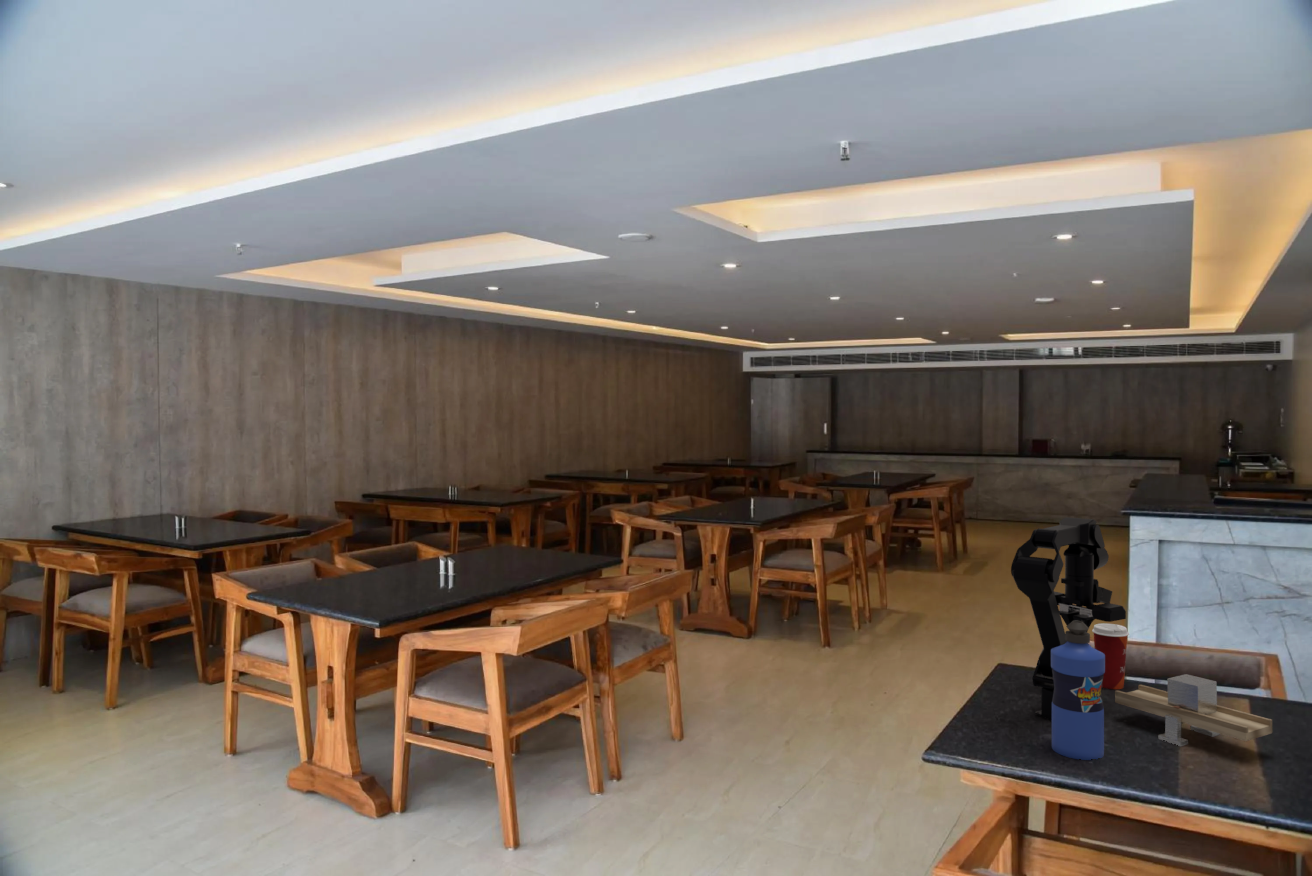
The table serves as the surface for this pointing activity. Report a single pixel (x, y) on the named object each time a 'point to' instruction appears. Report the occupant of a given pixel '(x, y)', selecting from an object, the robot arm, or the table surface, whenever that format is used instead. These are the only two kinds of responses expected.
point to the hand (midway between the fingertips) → (1079, 644)
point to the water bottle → (1077, 696)
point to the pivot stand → (1179, 731)
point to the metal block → (1193, 693)
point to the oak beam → (1197, 714)
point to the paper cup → (1112, 652)
